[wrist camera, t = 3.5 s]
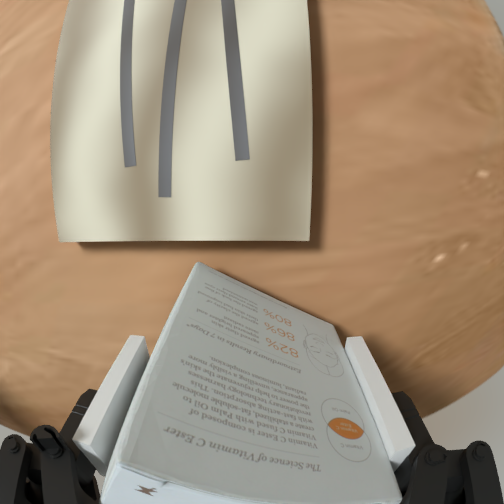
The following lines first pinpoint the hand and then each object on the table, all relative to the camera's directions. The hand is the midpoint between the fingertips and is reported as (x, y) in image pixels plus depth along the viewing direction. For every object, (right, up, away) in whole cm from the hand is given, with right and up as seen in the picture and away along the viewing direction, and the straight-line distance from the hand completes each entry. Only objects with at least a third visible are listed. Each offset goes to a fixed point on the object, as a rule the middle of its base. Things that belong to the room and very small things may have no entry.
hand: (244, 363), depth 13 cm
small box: (0, +1, +2) cm, 2 cm away
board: (-4, +16, -2) cm, 16 cm away
